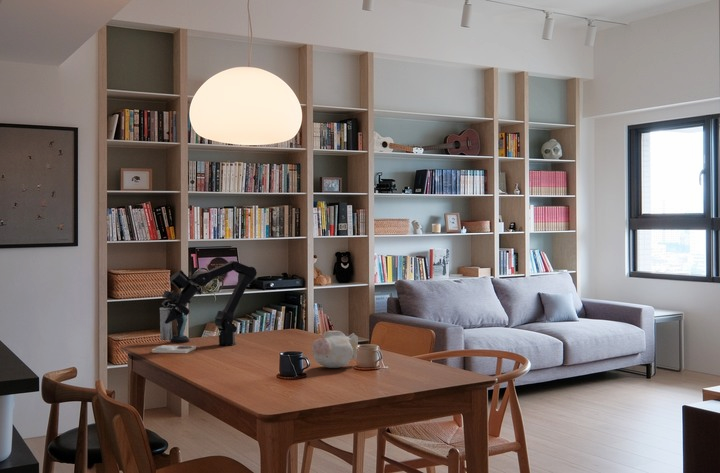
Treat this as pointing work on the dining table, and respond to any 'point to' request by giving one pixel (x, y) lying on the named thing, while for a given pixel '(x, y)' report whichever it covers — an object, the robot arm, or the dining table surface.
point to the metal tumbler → (165, 328)
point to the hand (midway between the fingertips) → (163, 322)
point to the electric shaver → (180, 330)
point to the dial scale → (173, 349)
